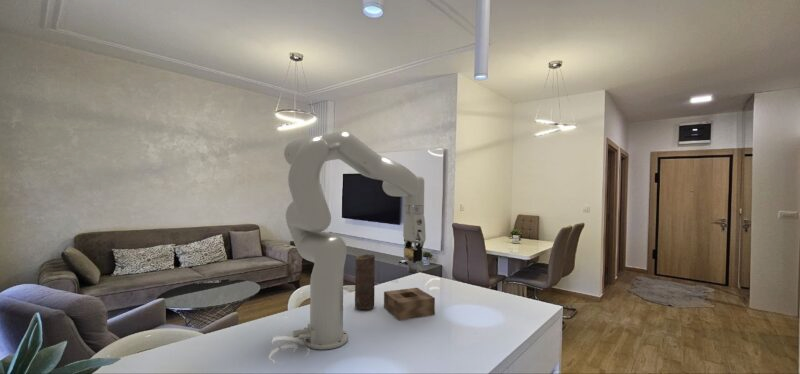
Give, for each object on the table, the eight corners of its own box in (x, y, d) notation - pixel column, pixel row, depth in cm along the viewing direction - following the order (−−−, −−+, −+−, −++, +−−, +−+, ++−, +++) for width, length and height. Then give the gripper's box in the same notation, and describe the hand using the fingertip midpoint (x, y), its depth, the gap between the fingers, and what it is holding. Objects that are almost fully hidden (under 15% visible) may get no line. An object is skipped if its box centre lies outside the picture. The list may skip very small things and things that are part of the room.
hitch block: (398, 320, 119) (399, 302, 119) (383, 307, 131) (384, 291, 131) (434, 314, 124) (434, 297, 124) (417, 302, 137) (417, 287, 137)
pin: (408, 275, 122) (408, 250, 122) (400, 270, 129) (400, 247, 129) (426, 273, 125) (426, 249, 125) (417, 269, 131) (417, 246, 131)
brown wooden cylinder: (373, 312, 126) (373, 257, 127) (353, 311, 127) (353, 256, 127) (375, 305, 134) (375, 253, 134) (356, 304, 134) (356, 253, 134)
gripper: (434, 211, 120) (433, 263, 120) (413, 208, 136) (412, 254, 136) (414, 211, 117) (413, 264, 117) (395, 209, 133) (394, 255, 133)
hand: (413, 258), depth 127 cm, fingers closed on pin, 7 cm apart
